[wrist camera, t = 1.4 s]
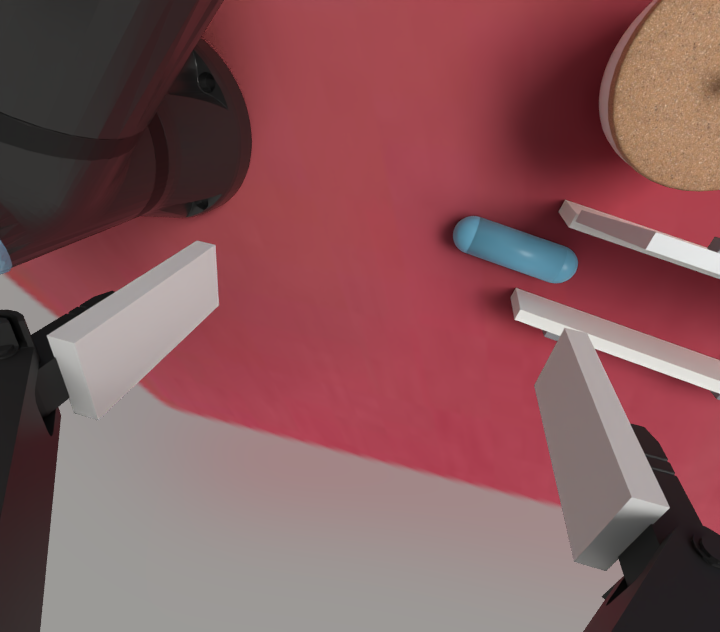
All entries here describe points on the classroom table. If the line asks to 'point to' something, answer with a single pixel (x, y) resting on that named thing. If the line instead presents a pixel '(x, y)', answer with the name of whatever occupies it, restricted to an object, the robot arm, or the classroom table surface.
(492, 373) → the classroom table surface
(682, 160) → the lidded jar
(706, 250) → the cover
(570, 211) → the white latched case
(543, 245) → the blue pill shape
